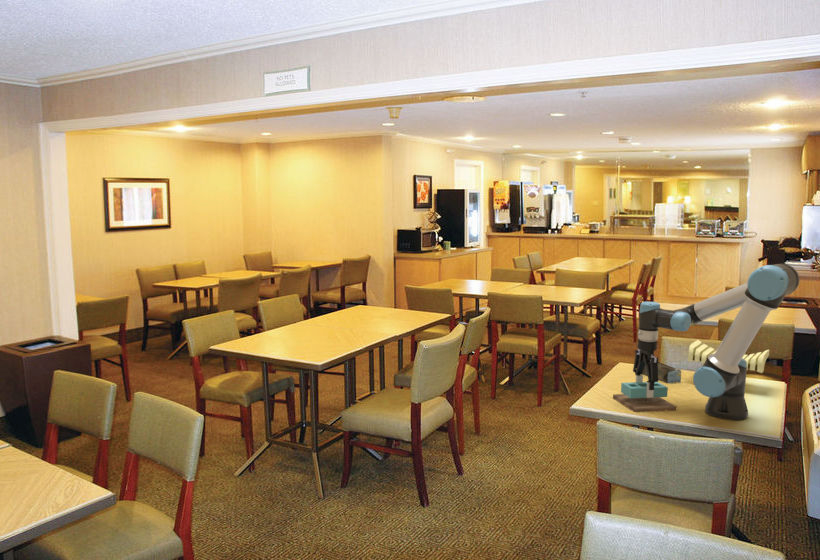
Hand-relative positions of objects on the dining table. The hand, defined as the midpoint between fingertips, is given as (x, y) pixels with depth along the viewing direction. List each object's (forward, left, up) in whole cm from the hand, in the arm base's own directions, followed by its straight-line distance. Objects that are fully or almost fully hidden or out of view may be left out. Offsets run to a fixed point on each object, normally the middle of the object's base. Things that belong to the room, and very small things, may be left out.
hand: (643, 393), depth 262 cm
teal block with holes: (0, 0, 0) cm, 0 cm away
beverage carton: (+35, -28, -5) cm, 45 cm away
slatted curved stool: (+19, -51, -4) cm, 55 cm away
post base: (0, 0, -4) cm, 4 cm away
